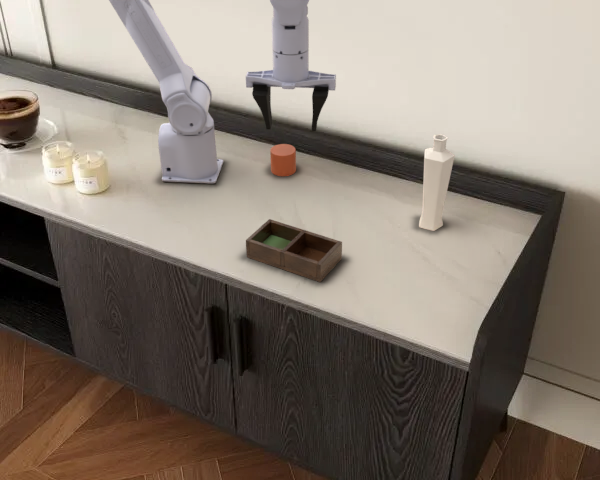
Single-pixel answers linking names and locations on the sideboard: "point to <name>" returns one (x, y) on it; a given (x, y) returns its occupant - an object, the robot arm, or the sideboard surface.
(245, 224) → the sideboard surface
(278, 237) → the divided tray
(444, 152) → the white vase
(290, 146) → the orange cylinder
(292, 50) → the robot arm
